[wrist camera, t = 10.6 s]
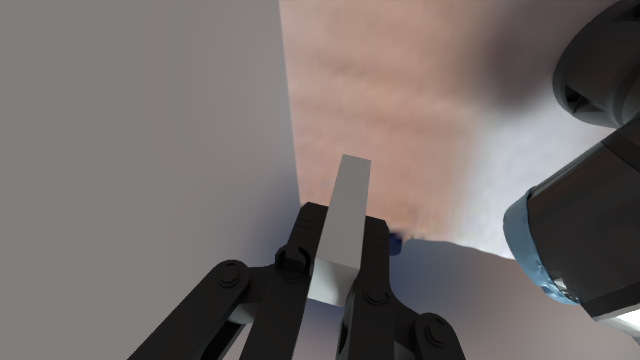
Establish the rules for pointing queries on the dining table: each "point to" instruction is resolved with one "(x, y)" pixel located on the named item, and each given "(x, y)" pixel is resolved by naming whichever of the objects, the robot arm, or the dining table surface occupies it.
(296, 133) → the dining table surface
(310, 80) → the dining table surface
